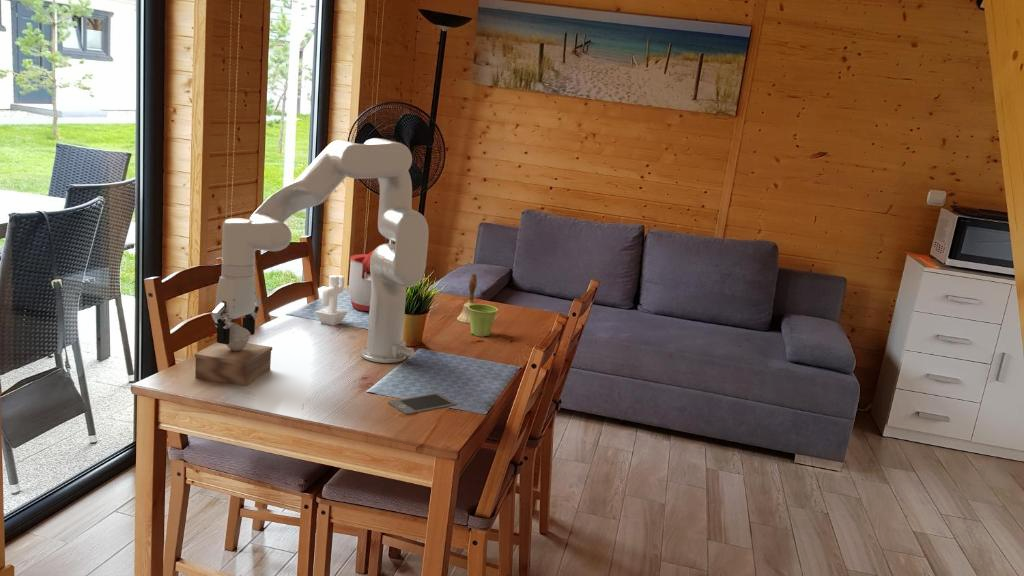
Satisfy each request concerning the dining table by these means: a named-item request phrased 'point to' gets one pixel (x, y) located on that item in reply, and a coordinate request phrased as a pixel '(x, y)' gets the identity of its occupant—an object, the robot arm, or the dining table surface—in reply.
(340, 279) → the figurine
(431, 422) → the dining table surface
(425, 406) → the smartphone
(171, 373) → the dining table surface
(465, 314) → the hand bell
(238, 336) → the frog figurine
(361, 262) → the citrus juicer
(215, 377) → the walnut box
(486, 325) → the plant pot
